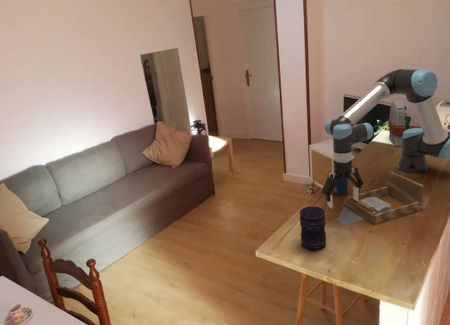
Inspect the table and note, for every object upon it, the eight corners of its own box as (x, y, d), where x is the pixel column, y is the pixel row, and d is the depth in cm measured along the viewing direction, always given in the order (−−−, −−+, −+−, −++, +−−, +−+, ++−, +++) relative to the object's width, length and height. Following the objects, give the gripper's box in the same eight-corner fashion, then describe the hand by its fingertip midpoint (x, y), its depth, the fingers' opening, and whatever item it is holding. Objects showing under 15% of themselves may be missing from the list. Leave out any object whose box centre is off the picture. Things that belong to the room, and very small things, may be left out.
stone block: (375, 204, 167) (358, 206, 163) (377, 195, 165) (360, 197, 162) (393, 215, 156) (376, 217, 153) (396, 205, 154) (378, 207, 151)
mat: (342, 205, 167) (342, 204, 167) (364, 219, 152) (364, 219, 152) (323, 210, 164) (323, 210, 164) (343, 225, 150) (343, 225, 150)
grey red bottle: (404, 147, 229) (407, 102, 219) (394, 147, 231) (396, 103, 221) (397, 138, 247) (399, 97, 237) (387, 139, 249) (389, 98, 239)
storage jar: (303, 236, 146) (302, 205, 141) (327, 239, 142) (326, 207, 137) (299, 250, 137) (297, 217, 132) (324, 253, 134) (323, 219, 128)
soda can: (350, 192, 178) (350, 171, 174) (343, 197, 174) (343, 175, 170) (337, 189, 183) (337, 168, 179) (331, 194, 179) (330, 173, 175)
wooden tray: (388, 192, 173) (389, 170, 169) (421, 209, 154) (423, 185, 150) (344, 205, 166) (344, 183, 162) (373, 224, 148) (374, 199, 144)
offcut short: (362, 204, 160) (362, 199, 159) (374, 211, 153) (374, 206, 152) (357, 205, 160) (357, 200, 159) (368, 212, 152) (368, 207, 151)
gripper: (361, 151, 156) (360, 193, 163) (312, 163, 150) (314, 206, 157) (372, 156, 149) (371, 200, 156) (322, 169, 143) (323, 213, 150)
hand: (343, 203), depth 156 cm, fingers open, 13 cm apart
